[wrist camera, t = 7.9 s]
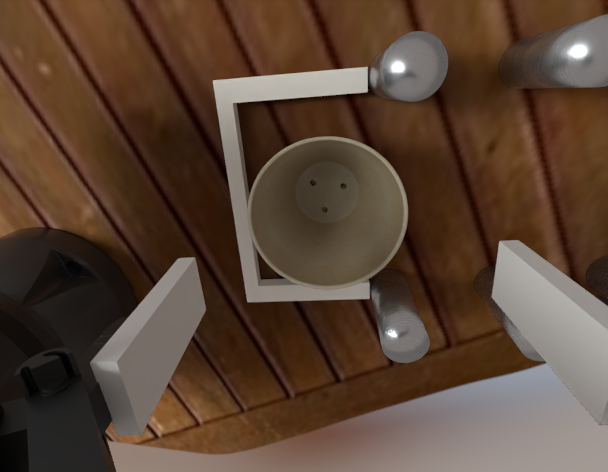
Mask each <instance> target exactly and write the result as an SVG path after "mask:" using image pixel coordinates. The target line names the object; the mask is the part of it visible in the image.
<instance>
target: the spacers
mask: <svg viewBox="0 0 608 472" xmlns="http://www.w3.org/2000/svg"><path fill="white" fill-rule="evenodd" d="M447 70H448V55H447V51H446V49H445V47H444V45H443V43H442V42H441V41H440V40H439V39H438V38H437V37H436V36H434V35H433V34H430V33H428V32H423V31H416V32H411V33H408V34H406V35H404V36H402V37H400V38H399V39H398V40H396V41H395V42H394V43H393V44H391V45H390V46H389V47H388V48H386V49H385V50H384V51H383V52H381V53H380V54H379V55H378V56H376V57H375V59H374V60H373V61H372V63H371V64H370V67H369V70H368V84H369V87H370V89H371V90H372V92H373V93H374V94H375V95H376V96H378V97H380V98H382V99H389V100H398V101H408V102H415V101H420V100H423V99H426V98H427V97H429V96H431V95H432V94H433V93H435V92H436V91H437V90H438V88H439V87H440V86H441V84H442V83H443V81H444V79H445V77H446V74H447ZM499 74H500V78H501V80H502V81H503V83H504V84H505V85H507V86H508V87H510V88H513V89H544V88H587V87H605V86H608V14H606V15H603V16H599V17H596V18H592V19H589V20H585V21H582V22H578V23H575V24H571V25H568V26H564V27H561V28H557V29H554V30H550V31H547V32H543V33H540V34H536V35H533V36H529V37H526V38H522V39H519V40H517V41H515V42H514V43H512V44H511V45H510V46H509V47H508V48H507V49H506V50H505V52H504V53H503V55H502V57H501V60H500V63H499ZM495 269H496V265H492V266H489V267H486V268H484V269H483V270H481V271H480V272H479V273H478V275H477V276H476V278H475V282H474V285H475V289H476V291H477V292H478V294H479V295H480V296H481V298H482V299H483V300H484V302H485V303H486V304H487V306H488V307H489V308H490V310H491V311H492V312H493V314H494V315H495V317H496V318H497V319H498V321H499V322H500V323H501V325H502V326H503V327H504V329H505V330H506V331H507V333H508V334H509V335H510V337H511V338H512V339H513V341H514V342H515V343H516V345H517V346H518V347H519V349H520V350H521V352H522V353H523V354H524V355H525V356H526V357H527V358H529V359H532V360H535V361H545V360H544V359H543V358H542V357H541V355H540V354H539V353H538V352H537V351H536V349H535V348H534V347H533V346H532V345H531V344H530V342H529V341H528V340H527V339H526V338H525V336H524V335H523V334H522V333H521V332H520V330H519V329H518V328H517V327H516V326H515V325H514V323H513V322H512V321H511V320H510V319H509V317H508V316H507V315H506V314H505V313H504V312H503V310H502V309H501V308H500V307H499V306H498V304H497V303H496V302H495V301H494V300H493V298H492V291H493V284H494V276H495ZM586 280H587V282H588V284H589V285H590V286H591V287H592V288H594V289H595V290H597V291H598V292H599V293H601V294H602V295H603V296H605V297H606V298H607V299H608V256H605V257H602V258H600V259H598V260H596V261H595V262H594V263H593V264H592V265H591V266H590V267H589V269H588V271H587V274H586ZM370 292H371V297H372V302H373V307H374V312H375V317H376V322H377V327H378V331H379V336H380V341H381V346H382V350H383V352H384V354H385V355H386V356H387V357H388V358H389V359H391V360H393V361H395V362H399V363H410V362H414V361H416V360H418V359H420V358H422V357H423V356H424V355H425V354H426V352H427V351H428V349H429V346H430V340H429V337H428V334H427V332H426V329H425V327H424V324H423V322H422V319H421V317H420V314H419V312H418V309H417V307H416V305H415V302H414V300H413V297H412V295H411V292H410V290H409V287H408V285H407V282H406V280H405V278H404V276H403V275H402V274H401V273H400V272H398V271H396V270H393V269H384V270H381V271H379V272H378V273H377V274H375V275H374V276H373V277H372V278H371V280H370Z"/></svg>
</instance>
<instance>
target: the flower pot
mask: <svg viewBox="0 0 608 472" xmlns="http://www.w3.org/2000/svg"><path fill="white" fill-rule="evenodd" d="M311 183H314V185H312V184H311ZM343 183H344V185H343V186H341V184H343ZM326 208H327V212H326V211H325V209H326ZM247 217H248V226H249V231H250V235H251V238H252V240H253V242H254V245H255V247H256V248H257V250H258V252H259V253H260V255H261V256H262V258H263V259H264V260H265V262H266V263H267V264H268V265H269V266H270V267H271V268H272V269H273V270H274V271H276V272H277V273H278V274H279V275H281V276H283V277H284V278H286V279H288V280H289V281H291V282H293V283H296V284H298V285H301V286H304V287H308V288H313V289H322V290H332V289H341V288H346V287H350V286H353V285H356V284H359V283H361V282H363V281H365V280H367V279H369V278H371V277H372V276H374V275H375V274H377V273H378V272H379V271H381V270H382V269H383V268H384V267H385V266H386V265H387V264H388V263H389V262H390V260H391V259H392V258H393V257H394V255H395V254H396V252H397V251H398V249H399V247H400V245H401V243H402V241H403V238H404V235H405V232H406V228H407V222H408V203H407V197H406V193H405V189H404V187H403V184H402V182H401V180H400V178H399V176H398V174H397V173H396V171H395V170H394V168H393V167H392V166H391V164H390V163H389V162H388V161H387V160H386V159H385V158H384V157H383V156H382V155H380V154H379V153H378V152H377V151H375V150H374V149H372V148H370V147H369V146H367V145H365V144H363V143H360V142H358V141H355V140H352V139H348V138H343V137H336V136H321V137H314V138H308V139H305V140H301V141H299V142H296V143H294V144H292V145H290V146H288V147H286V148H284V149H283V150H281V151H280V152H278V153H277V154H276V155H275V156H274V157H272V158H271V159H270V160H269V161H268V162H267V163H266V164H265V166H264V167H263V168H262V170H261V171H260V173H259V174H258V176H257V177H256V179H255V181H254V184H253V186H252V189H251V192H250V196H249V201H248V209H247Z"/></svg>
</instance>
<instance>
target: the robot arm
mask: <svg viewBox="0 0 608 472" xmlns="http://www.w3.org/2000/svg"><path fill="white" fill-rule="evenodd" d="M492 298H493V300H494V301H495V302H496V303H497V304H498V306H499V307H500V308H501V309H502V310H503V312H504V313H505V314H506V315H507V316H508V317H509V319H510V320H511V321H512V322H513V323H514V325H515V326H516V327H517V328H518V329H519V330H520V332H521V333H522V334H523V335H524V336H525V338H526V339H527V340H528V341H529V342H530V344H531V345H532V346H533V347H534V348H535V349H536V351H537V352H538V353H539V354H540V355H541V357H542V358H543V359H544V360H545V361H546V362H547V364H548V365H549V366H550V367H551V368H552V370H553V371H554V372H555V373H556V374H557V376H558V377H559V378H560V379H561V380H562V381H563V383H564V384H565V385H566V386H567V387H568V389H569V390H570V391H571V392H572V393H573V394H574V396H575V397H576V398H577V399H578V400H579V401H580V403H581V404H582V405H583V406H584V407H585V409H586V410H587V411H588V412H589V413H590V415H591V416H592V417H593V418H594V419H595V421H596V422H597V423H598V424H599V425H608V299H606V298H603V297H601V296H593V295H592V294H591V293H589V292H588V291H586V290H585V289H584V288H582V287H581V286H580V285H578V284H577V283H576V282H574V281H573V280H572V279H570V278H569V277H568V276H566V275H565V274H563V273H562V272H561V271H559V270H558V269H557V268H555V267H554V266H553V265H551V264H550V263H549V262H547V261H546V260H545V259H543V258H542V257H541V256H539V255H538V254H536V253H535V252H534V251H532V250H531V249H530V248H528V247H527V246H526V245H524V244H523V243H522V242H520V241H519V240H509V241H499V247H498V255H497V262H496V269H495V276H494V284H493V291H492ZM205 311H206V306H205V302H204V297H203V292H202V287H201V282H200V278H199V273H198V268H197V263H196V259H195V257H191V258H178V259H177V260H176V262H175V263H174V264H173V265H172V266H171V268H170V269H169V270H168V271H167V272H166V273H165V275H164V276H163V277H162V278H161V279H160V281H159V282H158V283H157V284H156V285H155V286H154V288H153V289H152V290H151V291H150V292H149V294H148V295H147V296H146V297H145V298H144V299H143V301H142V302H141V303H140V304H139V305H138V307H137V302H136V298H135V295H134V293H133V290H132V288H131V286H130V284H129V282H128V280H127V279H126V277H125V276H124V274H123V273H122V272H121V270H120V269H119V268H118V267H117V265H116V264H115V263H114V262H113V261H112V260H111V259H110V258H109V257H108V256H106V255H105V254H104V253H103V252H102V251H100V250H99V249H98V248H96V247H95V246H93V245H92V244H90V243H88V242H86V241H85V240H83V239H81V238H79V237H76V236H74V235H71V234H69V233H66V232H62V231H59V230H54V229H47V228H28V229H22V230H18V231H15V232H12V233H10V234H8V235H5V236H3V237H1V238H0V472H116V469H115V466H114V462H113V459H112V455H111V452H110V449H109V445H108V442H107V439H106V437H105V434H104V432H105V431H106V429H107V428H108V426H109V425H110V423H111V421H112V423H113V426H114V429H115V431H116V434H117V435H142V433H143V431H144V429H145V427H146V425H147V423H148V421H149V419H150V417H151V416H152V414H153V412H154V410H155V408H156V406H157V404H158V402H159V400H160V398H161V396H162V394H163V392H164V390H165V389H166V387H167V385H168V383H169V381H170V379H171V377H172V375H173V373H174V371H175V369H176V367H177V365H178V363H179V361H180V360H181V358H182V356H183V354H184V352H185V350H186V348H187V346H188V344H189V342H190V340H191V338H192V336H193V334H194V333H195V331H196V329H197V327H198V325H199V323H200V321H201V319H202V317H203V315H204V313H205Z"/></svg>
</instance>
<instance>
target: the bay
mask: <svg viewBox="0 0 608 472" xmlns="http://www.w3.org/2000/svg"><path fill="white" fill-rule="evenodd" d="M213 86H214V93H215V99H216V105H217V112H218V118H219V125H220V131H221V137H222V144H223V150H224V157H225V163H226V169H227V176H228V182H229V189H230V195H231V202H232V208H233V214H234V221H235V227H236V234H237V240H238V246H239V253H240V259H241V266H242V272H243V279H244V285H245V291H246V298H247V302H277V301H312V300H346V299H370V282H369V279H367V280H365V281H363V282H361V283H359V284H356V285H353V286H350V287H346V288H341V289H332V290H322V289H313V288H308V287H304V286H301V285H298V284H296V283H293V282H291V281H289V280H288V279H262V280H261V278H260V271H259V263H258V256H257V248H256V247H255V245H254V242H253V240H252V238H251V235H250V231H249V226H248V217H247V209H248V201H249V190H248V182H247V175H246V168H245V160H244V153H243V146H242V138H241V131H240V124H239V116H238V109H237V103H242V102H254V101H266V100H279V99H291V98H304V97H316V96H328V95H341V94H353V93H365V92H368V67H361V68H349V69H338V70H326V71H315V72H303V73H292V74H280V75H269V76H258V77H246V78H235V79H223V80H213Z"/></svg>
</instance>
